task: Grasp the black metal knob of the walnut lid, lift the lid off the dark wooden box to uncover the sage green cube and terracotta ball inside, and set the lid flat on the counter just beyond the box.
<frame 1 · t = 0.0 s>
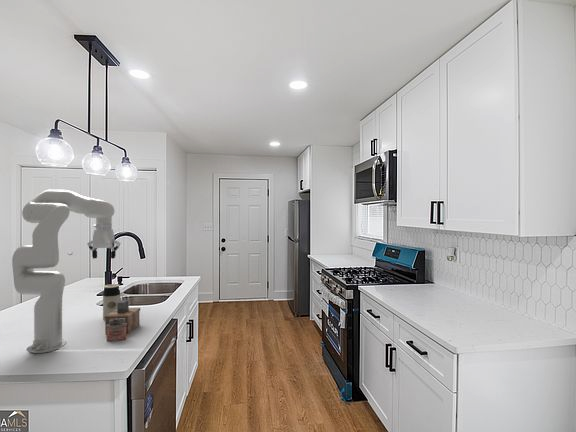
hand: (103, 258, 186), 31 cm above the counter, tool pointing down, fingers open, 9 cm apart
green cube: (123, 331, 158), point 1 cm above the counter, touching box
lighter: (116, 342, 148), on the counter
box: (123, 331, 161), on the counter
terracotta ball: (123, 327, 163), point 1 cm above the counter, touching box
travel mug: (111, 320, 178), on the counter
lid: (123, 314, 161), point 8 cm above the counter, touching box
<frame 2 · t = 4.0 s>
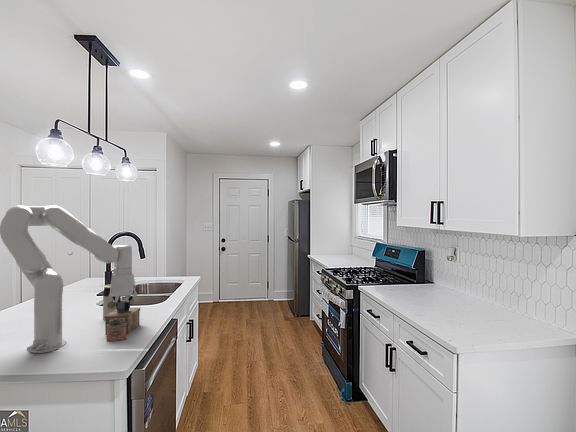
hand: (123, 309, 161), 10 cm above the counter, tool pointing down, fingers closed on lid, 3 cm apart
lid: (123, 314, 161), point 8 cm above the counter, touching box, gripper
everything else where it was.
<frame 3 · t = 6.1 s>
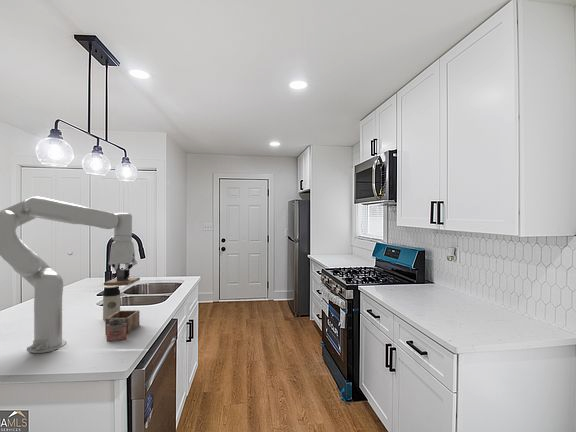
hand: (122, 277, 160), 25 cm above the counter, tool pointing down, fingers closed on lid, 3 cm apart
lid: (122, 282, 160), point 23 cm above the counter, touching gripper
everything else where it was.
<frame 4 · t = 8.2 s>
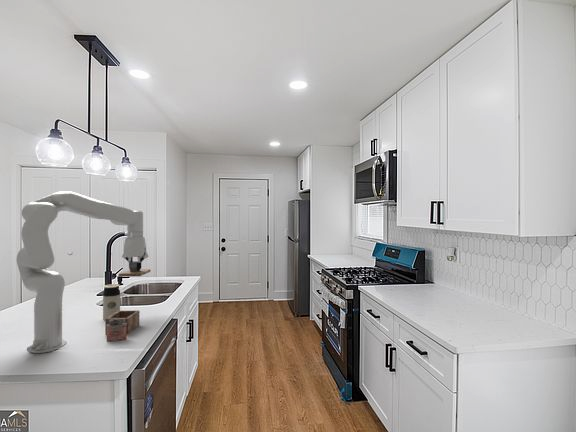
hand: (135, 269, 176), 27 cm above the counter, tool pointing down, fingers closed on lid, 3 cm apart
lid: (135, 273, 176), point 24 cm above the counter, touching gripper
everything else where it was.
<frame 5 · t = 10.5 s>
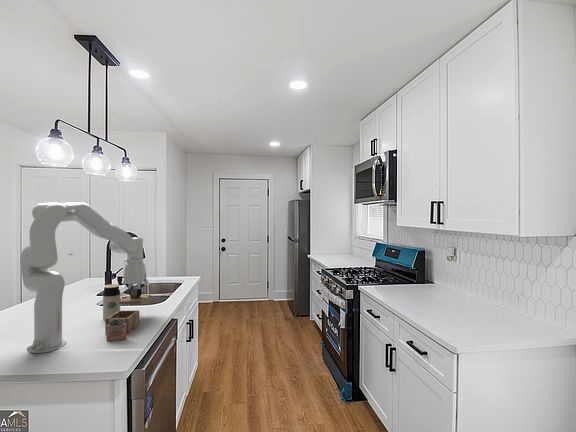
hand: (135, 296, 177), 13 cm above the counter, tool pointing down, fingers closed on lid, 3 cm apart
lid: (135, 300, 177), point 11 cm above the counter, touching gripper
everything else where it was.
when the fingers open (4 cm above the counter, at t = 12.6 s): lid drops 2 cm, on the counter.
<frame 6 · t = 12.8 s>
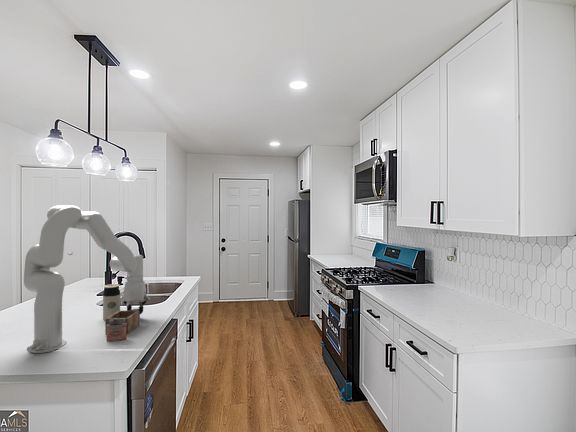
hand: (135, 313, 177), 4 cm above the counter, tool pointing down, fingers open, 4 cm apart
lid: (135, 321, 176), on the counter
everything else where it was.
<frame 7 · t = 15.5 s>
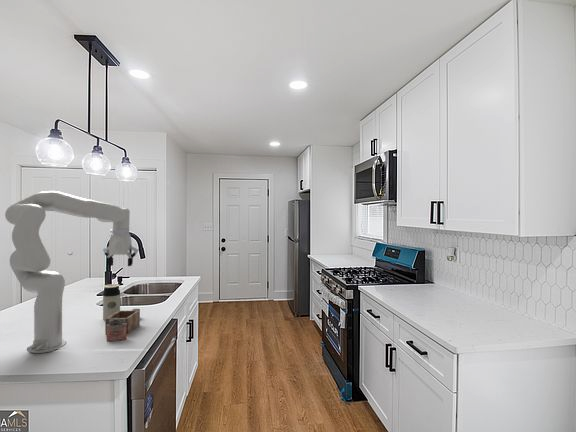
hand: (120, 265, 173), 29 cm above the counter, tool pointing down, fingers open, 9 cm apart
nothing on the counter moved.
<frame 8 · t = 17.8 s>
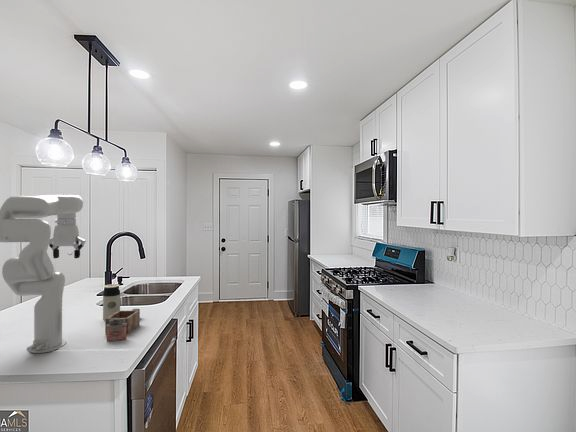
hand: (66, 258, 163), 34 cm above the counter, tool pointing down, fingers open, 9 cm apart
nothing on the counter moved.
at the end: lid inside the target area (0.1 cm from its centre), on the counter; lid tilted 0°; the gripper is holding nothing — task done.
